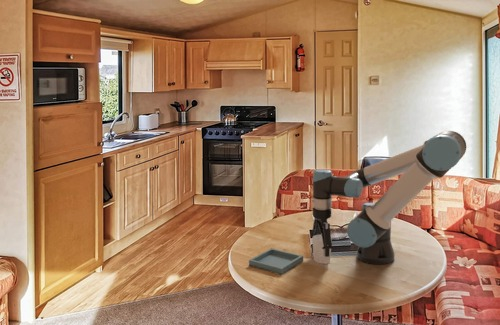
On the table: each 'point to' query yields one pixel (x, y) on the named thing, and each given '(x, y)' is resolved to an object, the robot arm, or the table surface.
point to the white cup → (318, 248)
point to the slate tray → (276, 261)
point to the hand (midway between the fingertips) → (321, 256)
